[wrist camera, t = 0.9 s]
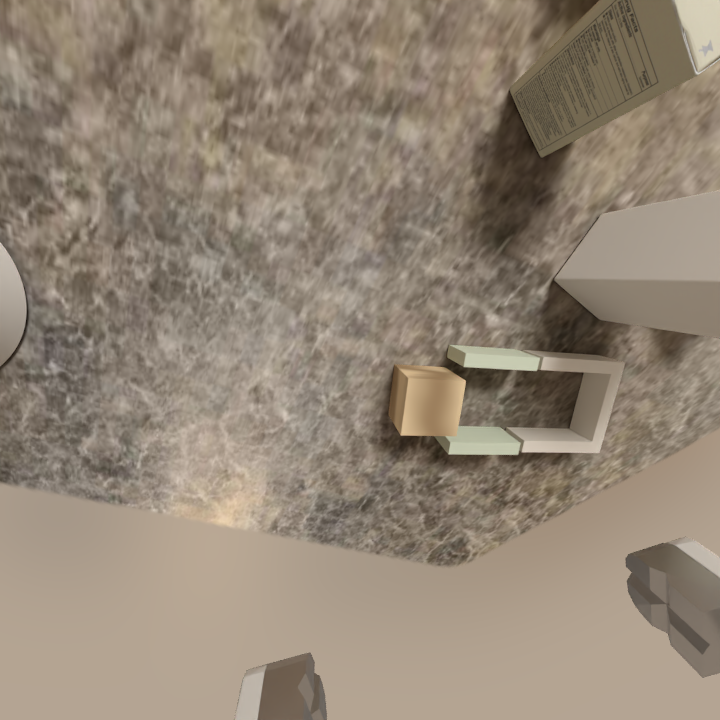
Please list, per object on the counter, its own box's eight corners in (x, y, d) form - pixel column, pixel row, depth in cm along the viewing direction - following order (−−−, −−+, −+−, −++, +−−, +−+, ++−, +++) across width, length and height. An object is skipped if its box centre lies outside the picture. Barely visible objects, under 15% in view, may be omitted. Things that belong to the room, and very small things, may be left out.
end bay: (503, 437, 35) (521, 452, 32) (522, 349, 33) (543, 357, 30) (576, 438, 37) (599, 452, 34) (598, 355, 35) (625, 362, 32)
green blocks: (434, 436, 34) (448, 454, 30) (448, 344, 32) (466, 353, 28) (497, 437, 35) (517, 454, 32) (516, 349, 33) (540, 357, 30)
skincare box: (580, 130, 29) (769, 32, 17) (538, 160, 29) (698, 83, 17) (549, 52, 27) (739, -119, 15) (505, 84, 27) (660, -60, 15)
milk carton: (598, 320, 34) (946, 375, 15) (551, 279, 32) (884, 286, 14) (645, 259, 33) (1070, 241, 15) (599, 213, 31) (1023, 126, 13)
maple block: (387, 414, 33) (400, 435, 28) (394, 364, 31) (408, 378, 27) (436, 415, 33) (456, 436, 29) (444, 366, 32) (466, 381, 28)
